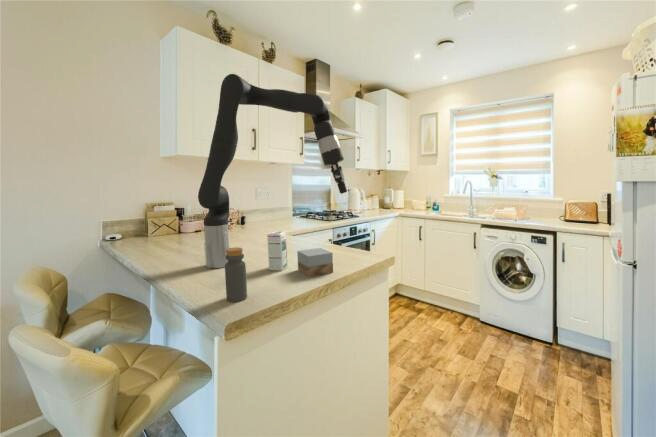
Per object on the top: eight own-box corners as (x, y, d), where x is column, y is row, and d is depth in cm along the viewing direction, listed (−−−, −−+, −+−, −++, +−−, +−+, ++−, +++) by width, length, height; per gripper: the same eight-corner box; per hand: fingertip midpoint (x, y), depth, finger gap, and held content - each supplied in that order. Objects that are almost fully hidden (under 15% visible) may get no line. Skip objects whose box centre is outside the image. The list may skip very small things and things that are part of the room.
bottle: (233, 303, 85) (230, 252, 83) (222, 298, 89) (219, 249, 87) (251, 297, 89) (248, 248, 87) (240, 293, 93) (237, 246, 91)
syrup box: (282, 270, 116) (281, 234, 114) (268, 270, 117) (266, 233, 115) (287, 266, 121) (286, 231, 119) (273, 266, 122) (272, 231, 120)
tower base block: (309, 278, 108) (308, 267, 108) (298, 271, 117) (297, 261, 116) (333, 273, 113) (332, 263, 112) (320, 267, 121) (320, 257, 121)
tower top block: (308, 267, 108) (308, 256, 107) (297, 260, 116) (297, 250, 116) (332, 263, 112) (332, 252, 112) (320, 257, 121) (320, 247, 121)
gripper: (323, 156, 117) (335, 195, 118) (318, 151, 103) (332, 196, 104) (341, 149, 116) (354, 189, 117) (338, 144, 102) (353, 189, 103)
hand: (343, 192), depth 110 cm, fingers open, 8 cm apart
